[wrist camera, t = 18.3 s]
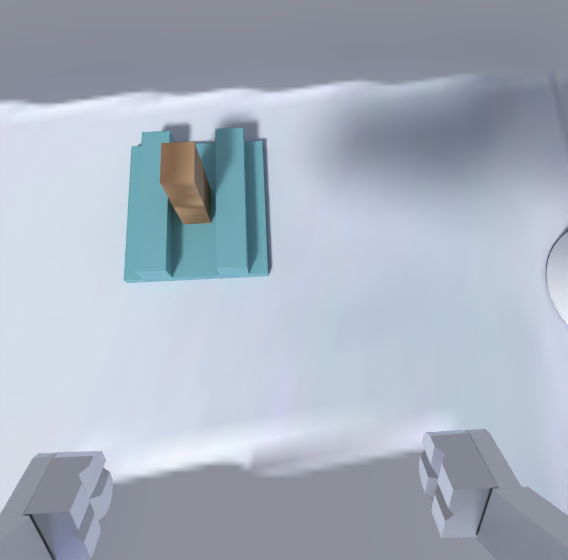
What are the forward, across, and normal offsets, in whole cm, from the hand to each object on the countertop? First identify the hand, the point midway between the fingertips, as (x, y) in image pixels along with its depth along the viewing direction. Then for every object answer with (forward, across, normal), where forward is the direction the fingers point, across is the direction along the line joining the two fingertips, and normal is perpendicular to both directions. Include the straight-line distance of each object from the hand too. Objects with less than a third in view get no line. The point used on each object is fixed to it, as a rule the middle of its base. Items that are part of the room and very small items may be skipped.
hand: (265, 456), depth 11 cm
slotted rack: (+38, +8, +6) cm, 39 cm away
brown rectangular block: (+37, +8, +6) cm, 39 cm away
